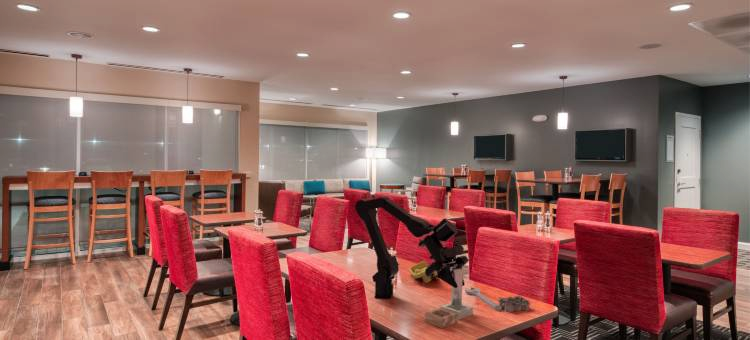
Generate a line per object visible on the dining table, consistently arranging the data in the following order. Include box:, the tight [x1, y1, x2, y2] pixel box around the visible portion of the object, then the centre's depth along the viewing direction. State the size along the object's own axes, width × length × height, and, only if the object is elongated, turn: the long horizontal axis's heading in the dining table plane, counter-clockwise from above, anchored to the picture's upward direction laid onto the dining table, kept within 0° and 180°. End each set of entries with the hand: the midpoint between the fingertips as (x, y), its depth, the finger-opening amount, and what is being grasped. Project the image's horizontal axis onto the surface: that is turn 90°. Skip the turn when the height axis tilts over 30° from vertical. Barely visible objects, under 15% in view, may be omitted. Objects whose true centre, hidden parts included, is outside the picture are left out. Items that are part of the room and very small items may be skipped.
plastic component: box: [408, 260, 437, 284], centre depth 205 cm, size 20×7×10 cm
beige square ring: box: [424, 307, 458, 329], centre depth 153 cm, size 8×7×3 cm
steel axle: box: [450, 267, 464, 306], centre depth 161 cm, size 4×4×12 cm
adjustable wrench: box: [464, 286, 502, 312], centre depth 177 cm, size 25×6×2 cm, turn 9°
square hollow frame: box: [440, 302, 474, 321], centre depth 161 cm, size 8×8×2 cm
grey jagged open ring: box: [497, 294, 532, 313], centre depth 168 cm, size 11×8×4 cm
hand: (460, 286), depth 160 cm, fingers closed on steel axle, 4 cm apart
